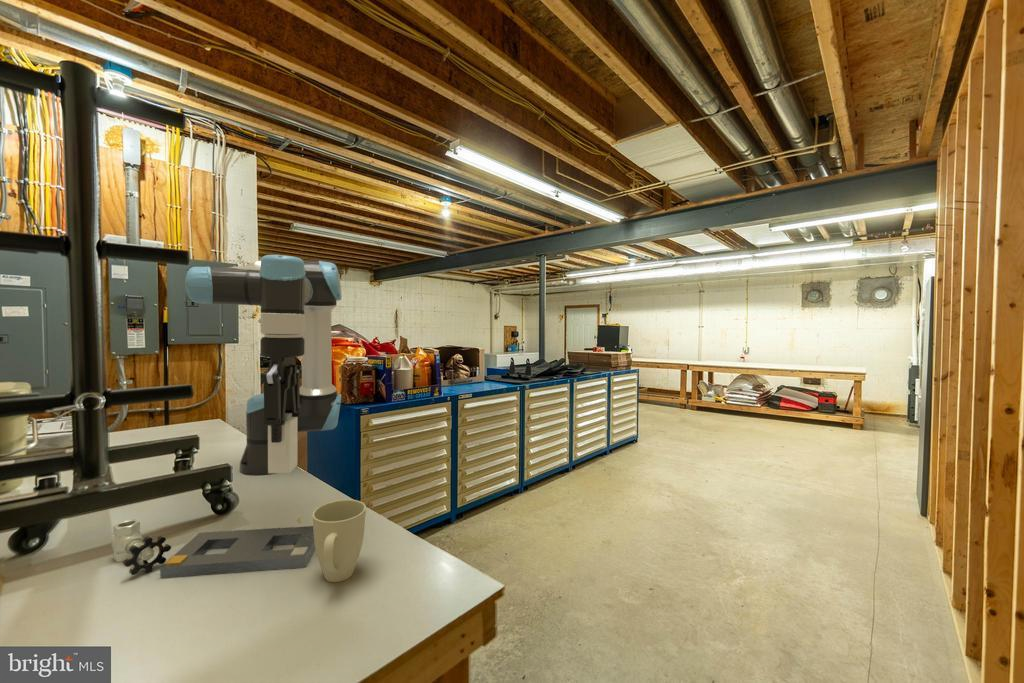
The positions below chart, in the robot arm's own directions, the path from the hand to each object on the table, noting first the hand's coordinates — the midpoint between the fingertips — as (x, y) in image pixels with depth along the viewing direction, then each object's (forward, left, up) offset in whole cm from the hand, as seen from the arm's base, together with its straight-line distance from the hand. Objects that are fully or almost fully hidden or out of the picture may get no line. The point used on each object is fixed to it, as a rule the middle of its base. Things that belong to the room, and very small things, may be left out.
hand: (283, 453), depth 80 cm
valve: (0, -25, -20) cm, 33 cm away
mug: (+10, +13, -20) cm, 26 cm away
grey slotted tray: (0, -6, -20) cm, 21 cm away
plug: (0, 0, -3) cm, 3 cm away
